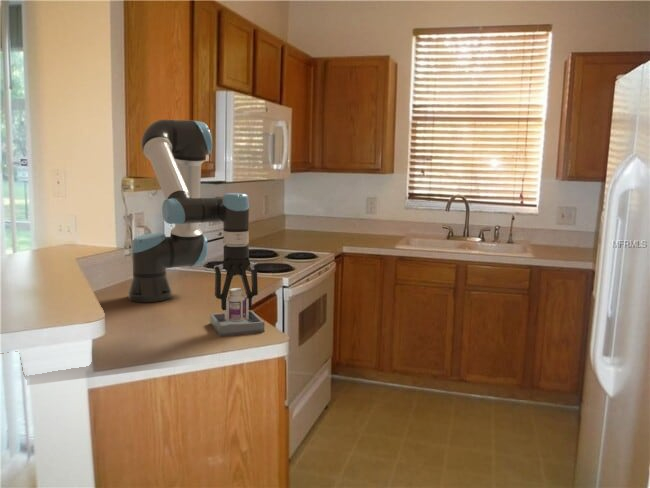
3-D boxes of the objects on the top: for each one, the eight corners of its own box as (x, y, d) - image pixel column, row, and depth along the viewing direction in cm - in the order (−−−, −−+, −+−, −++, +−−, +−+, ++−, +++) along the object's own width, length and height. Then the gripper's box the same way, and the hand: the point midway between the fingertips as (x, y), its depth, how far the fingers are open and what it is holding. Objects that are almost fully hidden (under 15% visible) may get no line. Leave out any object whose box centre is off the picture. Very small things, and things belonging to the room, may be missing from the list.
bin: (219, 336, 164) (219, 326, 164) (210, 323, 177) (210, 314, 176) (264, 331, 170) (264, 322, 169) (252, 319, 182) (252, 310, 182)
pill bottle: (237, 316, 177) (237, 286, 175) (249, 319, 173) (249, 289, 172) (224, 320, 172) (223, 289, 171) (236, 323, 169) (235, 292, 168)
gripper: (208, 248, 162) (209, 325, 166) (269, 245, 169) (269, 319, 173) (203, 244, 169) (204, 318, 173) (262, 241, 176) (262, 313, 180)
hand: (236, 318), depth 173 cm, fingers closed on pill bottle, 5 cm apart
